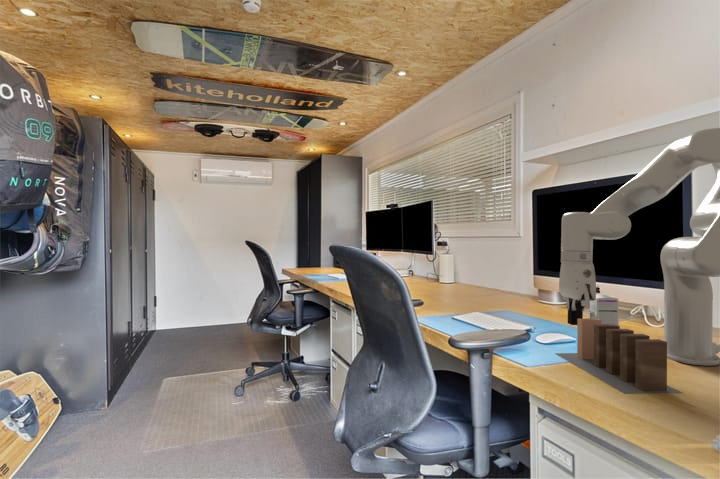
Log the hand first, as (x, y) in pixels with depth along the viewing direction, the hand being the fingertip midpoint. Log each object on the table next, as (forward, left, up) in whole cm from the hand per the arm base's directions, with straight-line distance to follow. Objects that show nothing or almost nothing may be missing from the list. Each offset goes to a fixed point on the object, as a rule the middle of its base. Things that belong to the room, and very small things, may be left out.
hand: (574, 324), depth 103 cm
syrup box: (-12, -6, -8) cm, 16 cm away
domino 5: (0, +26, -7) cm, 27 cm away
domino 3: (0, +17, -7) cm, 18 cm away
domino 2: (0, +12, -7) cm, 14 cm away
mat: (+1, +15, -8) cm, 17 cm away
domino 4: (0, +21, -7) cm, 22 cm away
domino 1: (0, +6, -7) cm, 9 cm away
